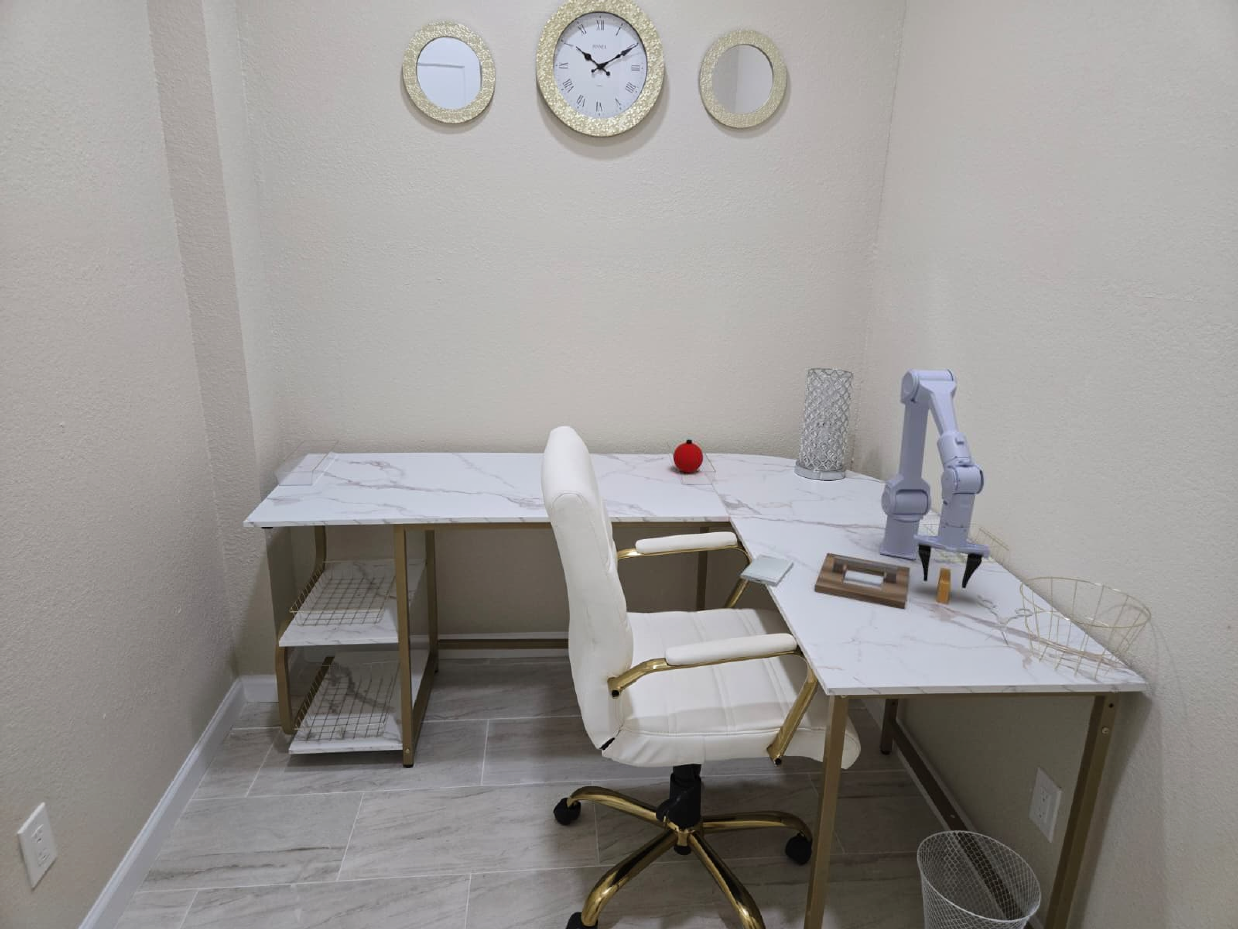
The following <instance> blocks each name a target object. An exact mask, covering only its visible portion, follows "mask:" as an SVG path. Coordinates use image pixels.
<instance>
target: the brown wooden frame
mask: <svg viewBox="0 0 1238 929" xmlns="http://www.w3.org/2000/svg"><path fill="white" fill-rule="evenodd" d="M835 556H839V557H845V558H850V559H856V560H862V561H867V562H873V563H878V564H884V565H889V566H895V567H898V569H897V576H896V582H895V584H894V583H888V582H885V581H886V574H887V573H886V572H881V571H875V570H870V569H864V568H859V567H853V566H848V565H844V567H843V572H842V574H841V573H835V572H833V564H834V558H835ZM847 569H848V570H847ZM851 570H852V572H858V573H862V572H863V573H864V574H869V575H875V576H879V577H883V579H882V585H881V588H876V587H872V586H866V585H860V584H855V583H850V582H844V580H845V576H846V573H847V571H851ZM910 571H911V567H910V566H903V565H896V564H893V563H886V562H880V561H875V560H871V559H866V558H865V559H864V558H859V557H853V556H849V555H848V556H847V555H842V554H836V553H832V552H831V553H830V552H827V553H826V556H825V558H824V561H823V564H822V566H821V568H820V571H819V573H818V575H817V579H816V582H815V584H814V592H817V593H821V592H822V593H821V594H827V595H830V596H831V595H832V596H836V597H842V598H847V599H852V600H857V601H862V602H868V603H872V604H877V605H883V606H887V607H892V608H898V609H903V610H905V607H906V600H907V592H908V585H909V578H910Z"/></svg>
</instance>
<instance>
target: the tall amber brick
mask: <svg viewBox="0 0 1238 929" xmlns="http://www.w3.org/2000/svg"><path fill="white" fill-rule="evenodd" d="M939 569H940V571H939V576H938V581H937V588H936V590H938V591H937V597H936V602H937V603H940V602H941V604H946V605H947V604H948V600H949V596H950V590H951V584H952V583H951V579H952V578H951V575H952V574H951V571H952V570H951V568H946V567H940V568H939Z"/></svg>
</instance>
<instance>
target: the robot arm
mask: <svg viewBox="0 0 1238 929" xmlns="http://www.w3.org/2000/svg"><path fill="white" fill-rule="evenodd" d="M900 387H901V388H900V395H899V396H900V400H899V401H900V403H901V404H903V405H904V414H903V424H902V432H901V444H900V446H901V447H900V455H899V463H898V464H899V466H898V474H896V475H894V476H893V477H890V479H888V480H887V481H885V484H884V488H883V492H882V495H881V499H880V500H881V501H880V502H881V503H880V504H881V509H882V511H883V513H884V514H885V515H886V524H885V529H884V531H885V532H884V536H883V538H882V540H881V545H880V549H879V554H881V555H886V556H891V557H898V558H902V559H908V560H913V561H914V560H916V559H917V553H918V557H919V559H920V562H921V566H922V570H923V571H922V573H923V581H924V582H928V578H929V577H928V576H929V565H930V561H931V555H932V549H935V550H942V551H945V552H948V553H954V554H955V553H959V554H964V555H967V557H966V565H965V570H964V573H963V577H962V580H961V588H962V589H967V585H968V583H969V581H970V579H971V578H972V575H973V574H974V572H976V571H977V569H978V568H979V567H980V566H981V564H982V561H983V559H986V560H988V559H990V558H989V557H990V552H991V547H990V546H988V545H983V544H978V543H974V542H972V541H968V538H969V533H970V528H971V522H972V516H973V510H974V505H975V499H976V495H979V494H980V493H982V491H983V489H984V487H985V476H984V470H983V468H982V467H981V466H980V465H978V463H977V461H976V460H974V459H973V456H972V453H971V451H970V447H969V444H968V440H967V437H966V435H965V434H964V433H962V432H960V431H959V429H958V424H957V418H956V412H955V407H954V402H953V399H954V397H955V395H956V391H957V378H956V374H955V372H954V371H953V370H951V369H945V370H944V369H943V370H942V369H939V370H938V369H915V368H909V369H908V370H907V371H906V372H905V374H904V375H903V376H902V379H901V385H900ZM929 410H930V413H931V415H932V417H933V421H934V423H935V426H936V428H937V431H938V434H939V438H938V439H937V441H936V446H937V450H938V453H939V457H940V461H941V465H942V468H943V472H942V474H941V476H940V477H941V478H940V484H941V494H940V495H941V499H942V500H943V502H942V507H941V513H940V518H939V525H938V530H937V535H923V534H922V535H921V534H918V533H919V528H920V522H921V520H923V519H924V516H927V515H928V513H929V512H930V510H931V507H932V497H931V485H930V484H929V482H927V481H926V480H925V479H923V478H922V473H923V465H924V455H925V448H926V447H925V446H926V435H927V426H928V425H927V424H928V416H929ZM917 551H918V552H917Z"/></svg>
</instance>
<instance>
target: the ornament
mask: <svg viewBox="0 0 1238 929" xmlns="http://www.w3.org/2000/svg"><path fill="white" fill-rule="evenodd" d="M672 459H673V463H674V465H675V467H676V468H677V469H678V470H679V471H681V472H684V473H693V472H695V471H697V470H698V469H699V468H700V467H701V466H702V465H703V462H704V454H703V451H702V449H701V447H699V445H697V444H695V443H694V442H693V440H692V439H690V438H689V439H686V440H685V442H683V443H681V444H679V445H678V446H677V447H676V448H675V450H674V451H673V458H672Z"/></svg>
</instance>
